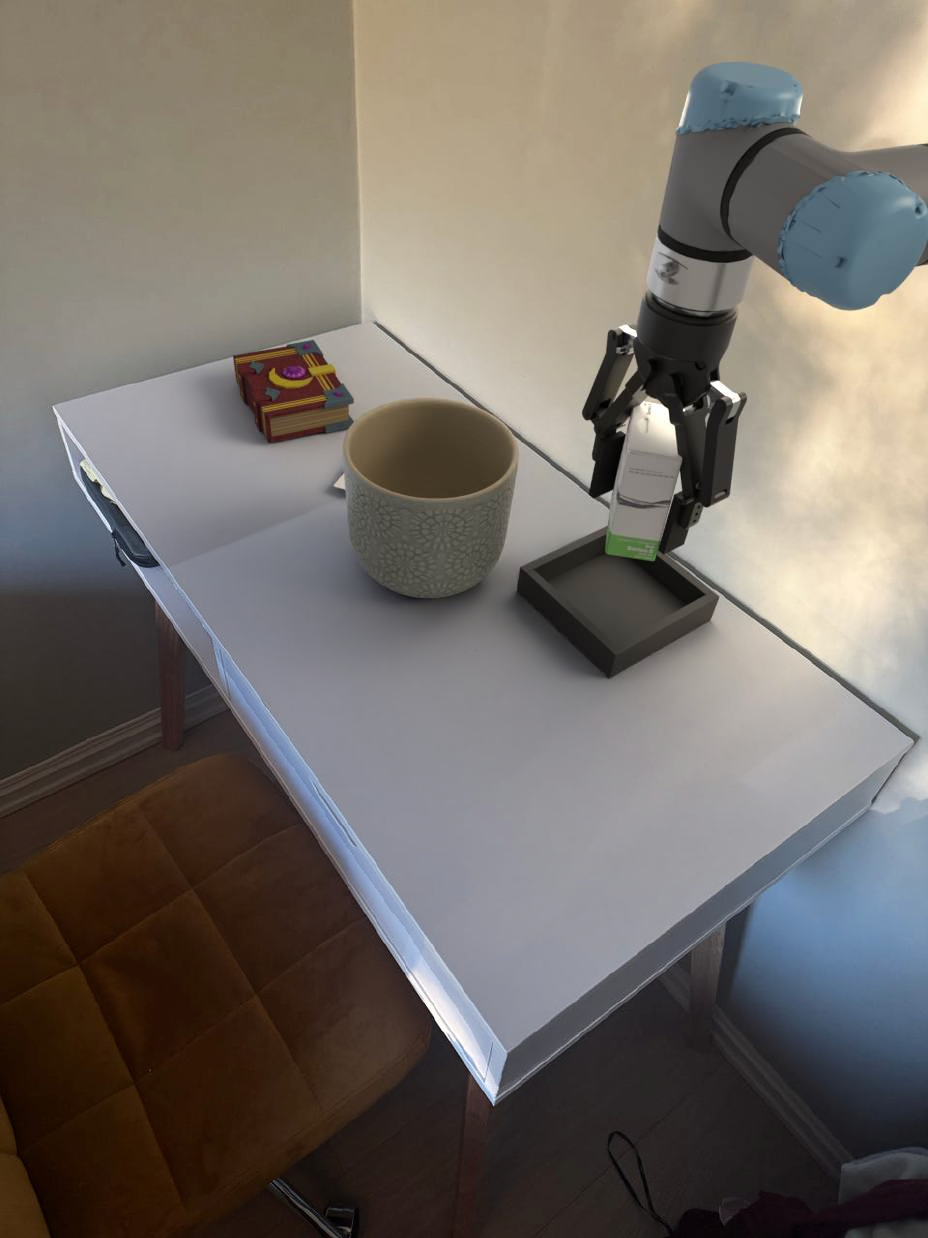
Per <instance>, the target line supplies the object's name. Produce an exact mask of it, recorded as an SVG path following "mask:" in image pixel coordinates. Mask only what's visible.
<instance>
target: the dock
mask: <svg viewBox="0 0 928 1238" xmlns="http://www.w3.org/2000/svg"><path fill="white" fill-rule="evenodd" d="M607 527H608V525H605V526H604V527H601V528H599V529H597V530H596V531H593V532H591V533H589V534H587V535H584V536H583V537H581V538H577V539H576V540H575V541H572V542H570V543H568V544H566V545H563V546H561V547H559V548H558V549H555V550H553V551H551V552H549V553H546V554H545V555H543V556H541V557H538V558H536V559H534V560H532V561H530V562H527V563H526V564H523V565H521V566H520V567H519V572H518V577H517V586H516V592H517V593H518V594H519V596H520V597H522V598H523V599H524V600H525V601H526V602H527V603H528V604H529V605H530V606H531V607H533V609H535V610H536V611H537V612H538V614H540V615H541V616H542V617H543V618H544V619H545V620H547V622H549V623H550V625H552V627H554V628H555V629H556V630H557V631H558V632H559V633H560V634H561V635H562V636H563V637H564V638H565V639H566V640H568V641H569V642H570V643H571V645H573V646H574V647H575V648H576V649H577V650H578V651H579V652H580V653H581V654H582V655H583V656H584V657H586V659H588V660H589V661H590V662H591V663H592V665H594V666H595V667H596V668H597V669H598V670H599V671H600V672H601V673H603V674H604V676H606V678H608V679H612V678H613V677H615V676H617V675H618V674H620V673H622V672H623V671H624V672H625V671H626V670H627V669H629V668H631V667H632V666H634V665H636V664H638V663H640V662H641V661H643V660H644V659H646V658H649V657H650V656H652V655H654V654H655V653H657V652H659V651H660V650H663V649H664V648H665V647H667V646H669V645H670V644H672V643H674V642H676V641H677V640H679V639H681V638H683V637H685V636H687V635H688V634H690V633H691V632H693V631H695V630H696V629H699V628H700V627H703V626H704V625H706V624H707V623H709V622H711V621H712V618H713V616H714V613H715V610H716V607H717V605H718V602H719V599H720V595H718V594H717V593H716V592H715V591H713V590H712V589H710V587H708V586H707V585H705V584H704V583H703V582H702V581H700V580H699V579H698V578H697V577H696V576H695V575H693V574H692V573H690V572H689V571H688V570H687V569H685V568H684V567H683V566H682V565H681V564H680V563H678V562H677V561H676V560H674V559H673V558H671V556H670V555H668V553H666V554H664V555H663V554H662V553H661V552H659V551H657V554H656V557H655V560H654V561H648V560H642V559H635V558H629V557H622V556H616V555H609V554H607V553H605V547H606V537H607Z"/></svg>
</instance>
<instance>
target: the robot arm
mask: <svg viewBox="0 0 928 1238" xmlns="http://www.w3.org/2000/svg"><path fill="white" fill-rule="evenodd" d="M803 97H804V88H803V86H802V83H801V82H800V81H799V80H798V79H797V77H796V76H795V75H793V74H792V73H790V72H788V71H786V70H784V69H781V68H778V67H774V66H771V65H767V64H761V63H756V62H755V63H754V62H749V61H748V62H747V61H724V62H723V61H722V62H715V63H712V64H709V65H707V66H705V67H703V68H701V69H700V70H699V71H698V72H697V73H695V75H694V77H693V78H692V79H691V82H690V84H689V89H688V92H687V95H686V100H685V103H684V106H683V110H682V114H681V117H680V121H679V124H678V127H676V129H675V133H674V134H675V136H676V137H675V140H674V141H675V142H674V147H673V151H672V156H671V161H670V166H669V172H668V176H667V181H666V186H665V190H664V197H663V202H662V205H661V210H660V215H659V219H658V226H657V231H656V235H655V238H654V239H655V240H654V244H653V249H652V252H651V257H650V262H649V267H648V272H647V276H646V277H647V278H646V286H647V287H646V288H645V289H644V291H643V293H642V296H641V301H640V307H639V311H638V315H637V320H636V324H635V322H629V323H626V324H623V325H620V326H617V327H614V328H612V329H609V330H608V332H607V336H606V347H605V354H604V356H603V359H602V361H601V364H600V366H599V368H598V370H597V373H596V376H595V378H594V380H593V384H592V385H591V389H590V390H589V393H588V396H587V397H586V399H585V403H584V405H583V406H582V407H583V408H582V410H581V416H582V418H583V419H584V420H585V421H587V422H589V421H590V422H591V423H592V424H593V431H594V433H595V436H594V442H593V446H592V452H591V460H592V461H594V466H593V469H592V475H591V480H590V485H589V490H588V496H589V497H591V498H592V499H596V498H599V497H600V496H603V495H605V494H608V493H609V492H613V488H614V484H615V479H616V475H617V470H618V466H619V462H620V457H621V453H622V449H623V445H624V440H625V436H626V432H623V431H622V430H619V431H617V430H618V429H620V428H623V427H626V426H627V424H626V422H627V421H628V420H629V419H630V415H631V411H632V409H633V408H634V407H636V406H639V405H641V403H642V402H643V401H644V402H645V400H646V399H647V398H648V397H650V399H654V400H657V401H658V402H660V405H663V406H664V407H666V408H667V409H668V412H669V421H670V423H671V424H672V425H674V427H675V434H676V443H677V451H678V455H680V456H681V457H682V464H681V467H680V471H679V477H680V484H681V485H680V486H681V491H680V490H679V491H678V492H677V493H673V497H672V500H671V504H670V508H669V511H668V515H667V518H666V522H665V526H664V530H663V533H662V537H661V540H660V544H659V547H658V551H659V552H661V553H662V554H663V555H664V554H668V553H670V552H672V551H674V550H676V549H678V548H680V547H682V546H684V545H685V542H686V539H687V537H688V533H689V530H690V528H692V527H694V526H697V524H698V523H699V522H700V520H701V516H702V512H703V510H704V508H705V509H707V508H710V507H712V506H715V505H717V504H718V503H720V502H722V501H724V500H726V499H728V498H729V497H730V495H731V489H732V478H733V472H734V471H733V470H734V461H735V454H736V444H737V435H738V425H739V418H740V417H741V415H742V412H743V410H744V408H745V407H746V403H747V401H748V395H747V393H746V392H745V391H744V390H742V389H739V390H736V391H732V390H731V389H729V388H728V387H727V386H726V385H725V384H723V383H722V382H721V374H720V364H721V361H722V359H723V357H724V355H725V354H726V352H727V351H728V348H729V346H730V342H731V339H732V336H733V332H734V329H735V326H736V324H737V323H736V322H737V319H738V317H739V314H740V307H739V305H740V304H741V303H742V301H743V300H744V297H745V294H746V291H747V288H748V284H749V280H750V277H751V273H752V270H753V266H754V263H755V260H756V258H757V259H759V260H760V261H761V262H762V263H763V264H765V265H766V266H768V267H769V268H770V269H772V270H773V271H775V272H776V273H777V274H779V275H780V276H781V277H783V278H784V279H785V280H786V281H788V282H789V283H790V285H791V286H792V287H794V288H796V289H797V290H798V291H800V293H806V294H807V295H808V296H809V297H812V298H817V299H818V300H820V301H822V302H823V303H824V304H827V305H828V306H830V307H832V308H834V309H837V310H841V311H846V312H847V311H848V312H851V311H860V310H864V309H867V308H869V307H872V306H874V305H875V304H876V303H877V302H878V301H879V299H880V298H881V297H882V296H885V295H890V294H892V293H893V292H894V291H896V290H897V289H898V288H900V286H901V285H902V284H903V283H904V282H905V281H906V280H907V278H908V277H909V276H910V275H911V273H912V272H913V271H914V269H915V268H917V267H923V266H927V265H928V142H926V143H917V144H906V145H899V146H898V145H897V146H889V147H882V148H881V147H880V148H873V149H866V150H857V151H846V150H845V151H844V150H840V149H838V148H835V147H833V146H831V145H828V144H826V143H824V142H822V141H820V140H818V139H815V138H813V136H811V135H809V134H808V133H807V132H805V131H803V130H801V129H800V128H798V127H797V126H796V125H797V123H798V122H799V121H800V118H801V117H802V115H801V107H802V103H803V102H802V101H803ZM634 358H635V362H636V367H637V368H636V371H635V372H634V373H633V374H632V376H631V377H630V378H629V379H628V380H627V382H626V383H625V384H624V389H623V390H622V391H621V393H619V395H617V394H618V392H619V390H620V388H621V385H622V383H623V382H624V379H625V376H626V374H627V372H628V370H629V367H630V365H631V363H632V362H633V361H632V360H633V359H634ZM708 399H709V401H708ZM688 407H690V408H688ZM685 408H688V409H685ZM683 409H685V411H683ZM707 416H708V417H707ZM706 418H707V421H706Z"/></svg>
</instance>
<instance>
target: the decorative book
mask: <svg viewBox="0 0 928 1238" xmlns="http://www.w3.org/2000/svg"><path fill="white" fill-rule="evenodd" d="M232 359H233V360H232V361H233V368H234V374H235V381H236V384H237V386H238V387H239V391H240V392H239V393H240V398H241V399H242V401H243V403H244V404H245V405H246V404H248V406H249V408H250V410H251V412H252V414H253V415H254V416H253V417H254V423H255V425H256V428H257V429H258V431H259V433H262V432H263V434H264V436H265V438H266V440H267V442H268V443H269V444H270V443H274V442H280V441H284V440H290V439H294V438H299V437H303V436H304V437H305V436H308V435H313V434H318V433H323V432H325V433H332V432H337V431H342V430H346V429H347V430H348V429H349V427H350V426H351V425H352V424H353V423H354V422H355V421H354V419H353V418H352V416H351V415H350V414H349V413H350V405H353V404H354V401H355V400H354V399H355V398H354V397H353V395H352V393H351V392H350V391H349V390H348V388H347V387H346V385H345V384H344V383H343V382H341V381H340V379H339V378H338V377H337V370H336V368H335V367H334V365H333V364H332V363H328V361H327V360H326V359H325V357H324V353H323V352H322V350H321V349H320V347H319V345H318V344H317V343H316V341H315V340H314V339H311V340H310V339H309V340H305V341H299V342H294V343H288V344H286V346H281V347H274V348H268V349H263V350H256V351H252V352H246V353H240V354H234V355H232Z"/></svg>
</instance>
